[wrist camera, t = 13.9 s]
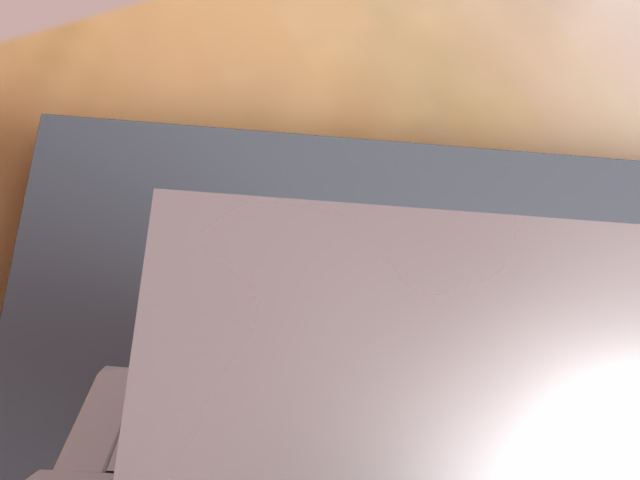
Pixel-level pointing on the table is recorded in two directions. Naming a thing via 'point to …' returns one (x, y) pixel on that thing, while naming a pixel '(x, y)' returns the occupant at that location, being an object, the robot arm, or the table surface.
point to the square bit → (380, 344)
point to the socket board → (215, 177)
